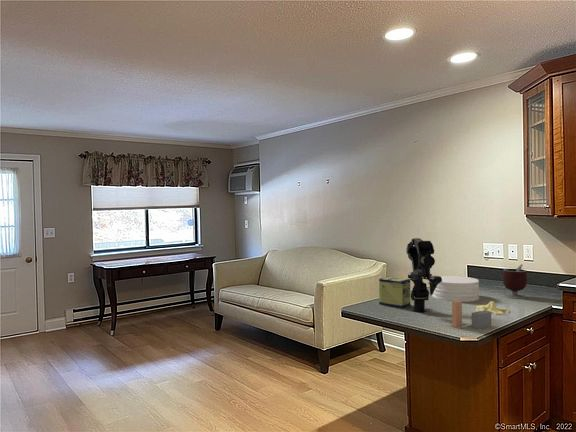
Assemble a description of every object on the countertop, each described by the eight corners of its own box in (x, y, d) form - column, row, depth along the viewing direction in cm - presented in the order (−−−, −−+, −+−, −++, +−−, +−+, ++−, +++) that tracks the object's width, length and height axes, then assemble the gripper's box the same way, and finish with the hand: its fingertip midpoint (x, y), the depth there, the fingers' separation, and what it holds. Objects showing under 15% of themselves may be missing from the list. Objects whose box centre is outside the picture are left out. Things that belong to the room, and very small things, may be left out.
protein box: (402, 308, 251) (402, 281, 250) (378, 304, 261) (378, 278, 261) (411, 305, 258) (411, 278, 258) (387, 301, 269) (387, 276, 269)
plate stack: (450, 291, 299) (450, 274, 299) (488, 298, 276) (488, 280, 275) (422, 296, 284) (422, 278, 283) (460, 304, 260) (460, 284, 260)
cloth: (479, 306, 256) (479, 295, 256) (513, 310, 244) (513, 299, 244) (465, 313, 240) (465, 302, 239) (502, 319, 227) (502, 307, 227)
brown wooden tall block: (452, 326, 212) (452, 301, 211) (457, 325, 214) (457, 300, 213) (456, 327, 210) (456, 302, 209) (461, 326, 212) (461, 301, 211)
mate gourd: (519, 300, 269) (519, 267, 268) (498, 296, 280) (498, 265, 280) (533, 297, 277) (533, 265, 277) (511, 293, 289) (511, 263, 288)
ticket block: (457, 328, 208) (457, 313, 208) (480, 323, 217) (480, 309, 217) (468, 331, 203) (468, 316, 203) (491, 326, 212) (491, 311, 212)
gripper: (400, 263, 236) (400, 292, 236) (427, 267, 220) (427, 298, 220) (415, 262, 242) (415, 290, 242) (442, 265, 226) (442, 295, 226)
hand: (424, 293), depth 232 cm, fingers open, 9 cm apart
